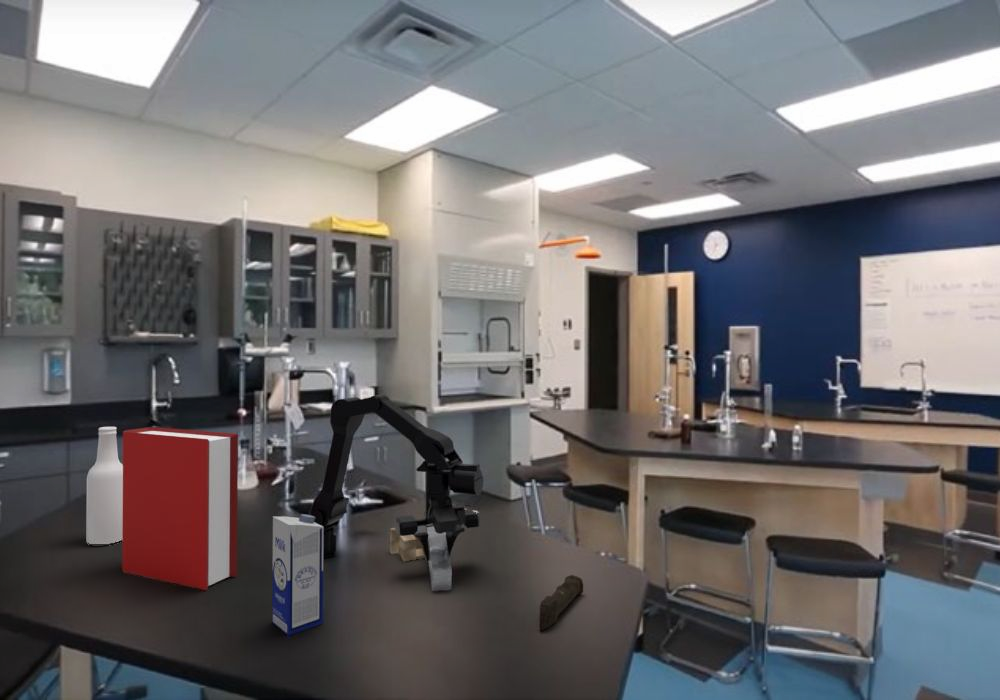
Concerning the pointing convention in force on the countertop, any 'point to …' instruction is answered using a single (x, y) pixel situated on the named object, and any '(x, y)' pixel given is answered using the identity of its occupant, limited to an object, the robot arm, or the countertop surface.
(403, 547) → the beige studded block
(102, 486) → the alcohol
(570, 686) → the countertop surface
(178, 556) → the book
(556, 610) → the dark brown lumpy bar
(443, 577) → the rail
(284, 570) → the milk carton
